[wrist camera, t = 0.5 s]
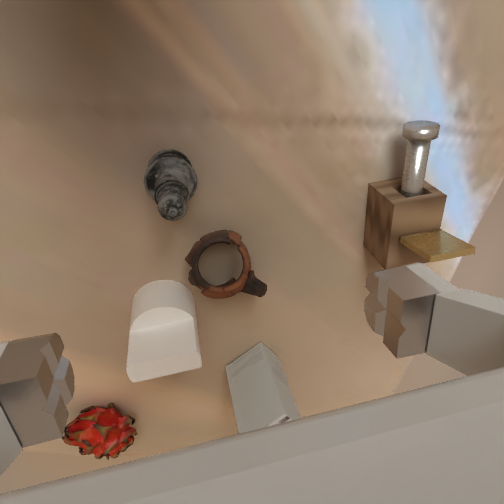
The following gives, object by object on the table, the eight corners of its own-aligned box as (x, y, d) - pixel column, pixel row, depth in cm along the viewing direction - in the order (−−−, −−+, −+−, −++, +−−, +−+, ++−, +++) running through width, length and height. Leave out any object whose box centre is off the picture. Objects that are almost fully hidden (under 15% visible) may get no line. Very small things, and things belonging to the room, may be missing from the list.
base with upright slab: (188, 274, 55) (194, 333, 45) (199, 320, 60) (207, 382, 50) (124, 286, 54) (116, 349, 44) (140, 332, 59) (137, 398, 49)
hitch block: (368, 183, 53) (394, 204, 47) (415, 175, 54) (446, 195, 48) (363, 244, 58) (385, 270, 53) (406, 236, 59) (433, 261, 53)
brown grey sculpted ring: (175, 280, 56) (173, 286, 48) (201, 219, 56) (203, 216, 48) (251, 310, 58) (261, 321, 49) (275, 252, 58) (289, 253, 50)
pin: (397, 123, 47) (415, 132, 44) (427, 118, 47) (447, 127, 44) (383, 236, 56) (397, 251, 53) (409, 232, 56) (424, 246, 53)
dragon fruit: (143, 407, 70) (74, 399, 68) (143, 406, 63) (65, 397, 61) (132, 460, 67) (59, 453, 65) (130, 465, 59) (48, 457, 57)
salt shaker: (203, 180, 48) (214, 225, 38) (162, 201, 48) (162, 252, 38) (179, 138, 45) (184, 175, 35) (135, 161, 45) (128, 205, 35)
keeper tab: (398, 241, 50) (398, 235, 50) (438, 234, 51) (438, 227, 51) (430, 262, 44) (430, 255, 44) (474, 253, 45) (475, 246, 44)
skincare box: (243, 380, 70) (261, 460, 57) (222, 364, 66) (237, 446, 54) (280, 355, 68) (307, 432, 56) (261, 338, 65) (285, 416, 53)
